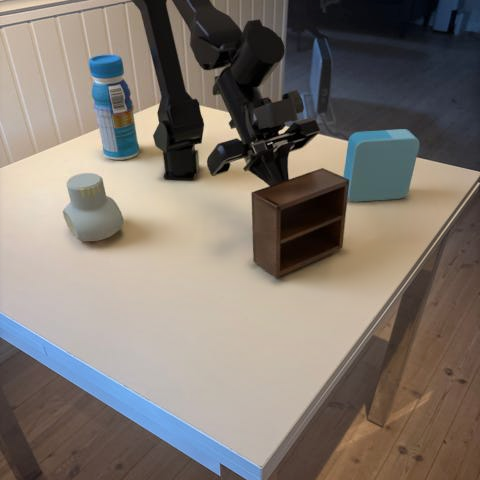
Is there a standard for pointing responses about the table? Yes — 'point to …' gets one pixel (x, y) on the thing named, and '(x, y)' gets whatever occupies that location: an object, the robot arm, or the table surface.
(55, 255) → the table surface
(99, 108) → the beverage bottle
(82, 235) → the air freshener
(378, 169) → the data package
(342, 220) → the shelf
